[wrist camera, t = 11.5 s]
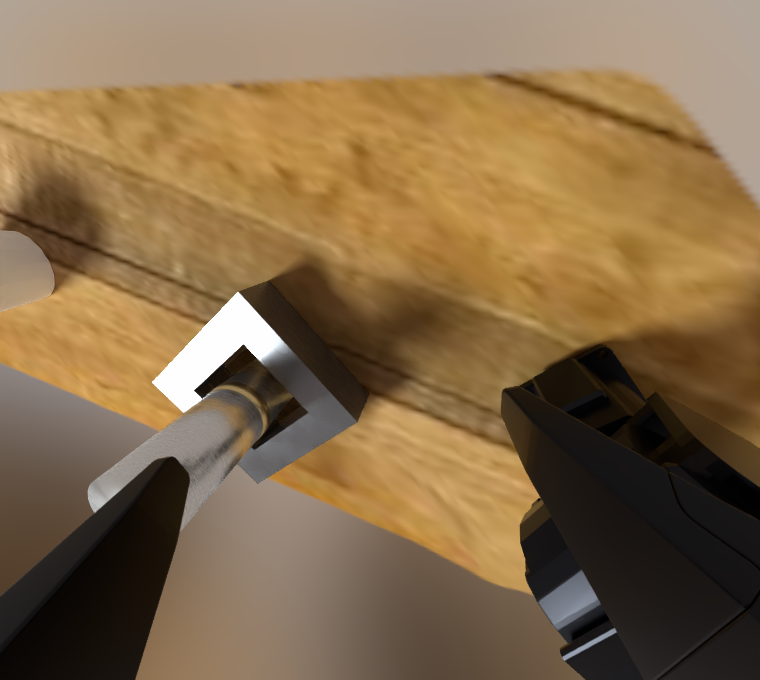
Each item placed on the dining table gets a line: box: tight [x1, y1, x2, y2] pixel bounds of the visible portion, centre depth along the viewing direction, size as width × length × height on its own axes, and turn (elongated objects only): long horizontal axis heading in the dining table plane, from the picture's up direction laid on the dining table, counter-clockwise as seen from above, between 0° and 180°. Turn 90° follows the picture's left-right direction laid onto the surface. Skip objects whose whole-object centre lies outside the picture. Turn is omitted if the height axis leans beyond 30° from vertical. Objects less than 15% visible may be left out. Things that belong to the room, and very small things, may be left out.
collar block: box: [152, 281, 369, 483], centre depth 23 cm, size 11×11×4 cm
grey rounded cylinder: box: [88, 358, 293, 532], centre depth 19 cm, size 4×4×12 cm
